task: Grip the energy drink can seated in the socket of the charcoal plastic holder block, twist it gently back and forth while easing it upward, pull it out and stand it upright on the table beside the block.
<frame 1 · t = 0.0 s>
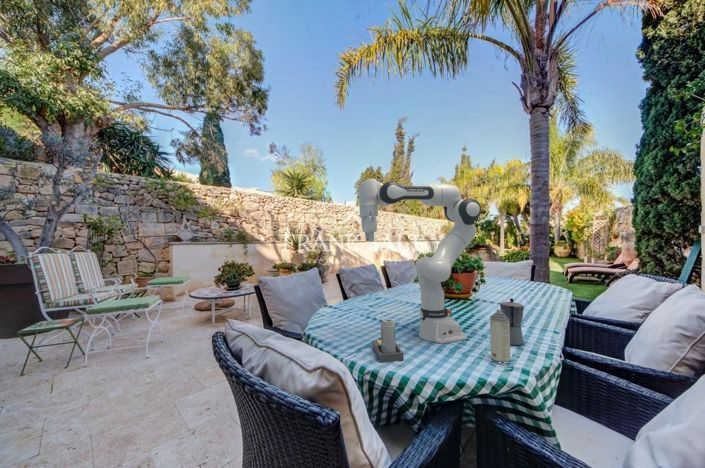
hand: (369, 241, 131), 48 cm above the table, tool pointing down, fingers open, 8 cm apart
socket block: (388, 356, 115), on the table
energy drink can: (388, 356, 115), resting in socket block
moka pot: (513, 343, 125), on the table
aerosol can: (500, 360, 109), on the table
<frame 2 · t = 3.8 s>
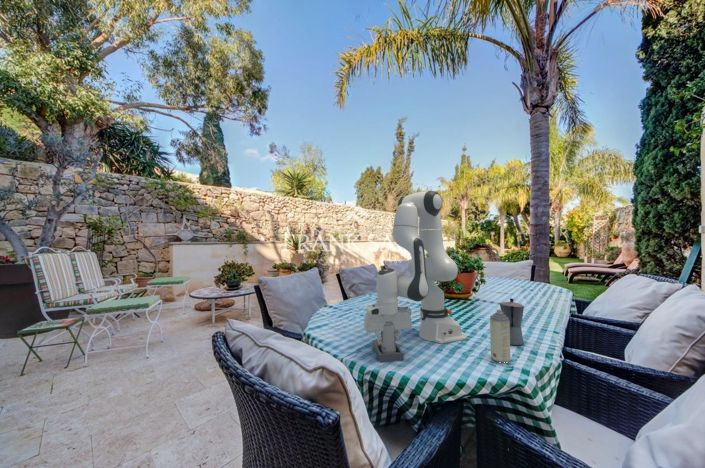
hand: (388, 340, 115), 7 cm above the table, tool pointing down, fingers closed on energy drink can, 6 cm apart
energy drink can: (388, 356, 115), resting in socket block, touching gripper
everything else where it was.
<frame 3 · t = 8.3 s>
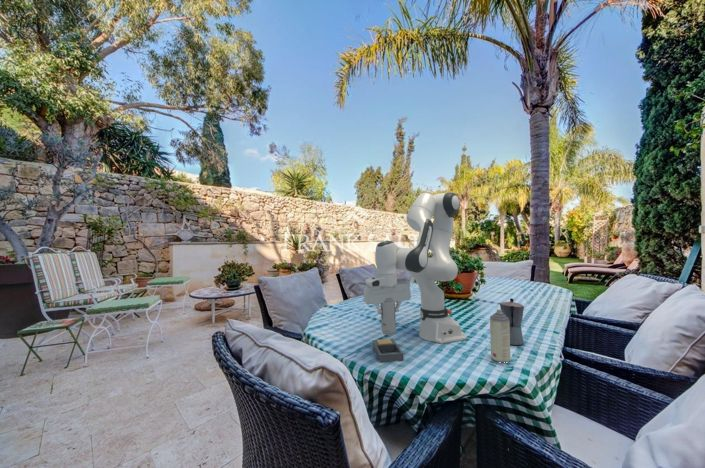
hand: (388, 312, 115), 18 cm above the table, tool pointing down, fingers closed on energy drink can, 6 cm apart
energy drink can: (388, 333, 115), point 10 cm above the table, touching gripper
everything else where it was.
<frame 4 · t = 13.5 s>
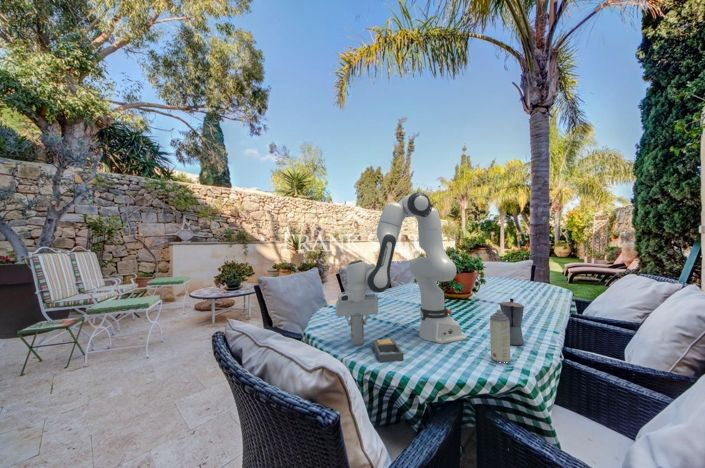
hand: (357, 324, 129), 9 cm above the table, tool pointing down, fingers closed on energy drink can, 6 cm apart
energy drink can: (357, 344, 129), on the table, touching gripper
everything else where it was.
when the fingers open (8 cm above the table, at t = 14.4 s): energy drink can stays where it is, on the table.
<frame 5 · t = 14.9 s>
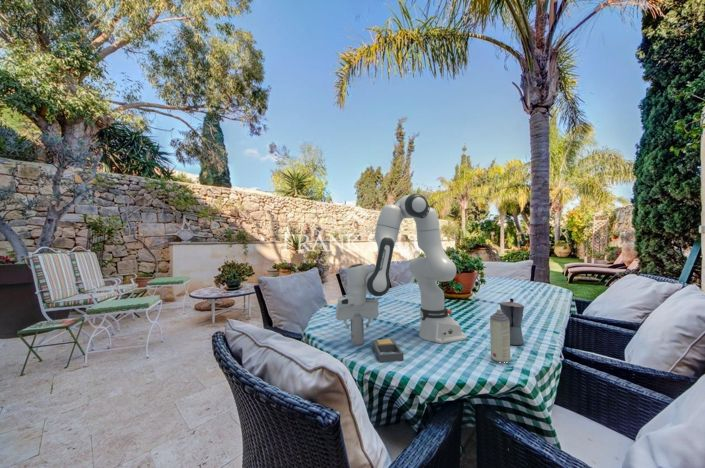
hand: (357, 327, 129), 8 cm above the table, tool pointing down, fingers open, 8 cm apart
energy drink can: (357, 344, 129), on the table
everything else where it was.
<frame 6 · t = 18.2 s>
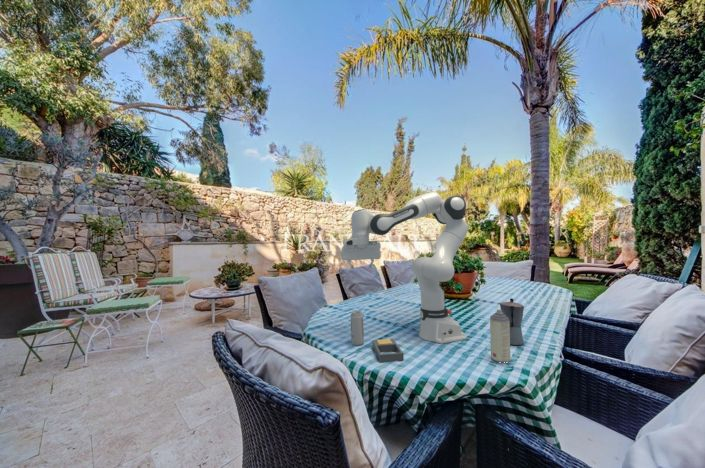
hand: (361, 268, 139), 34 cm above the table, tool pointing down, fingers open, 8 cm apart
nothing on the table moved.
at the end: energy drink can inside the target area (0.3 cm from its centre), on the table; energy drink can tilted 0°; the gripper is holding nothing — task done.
